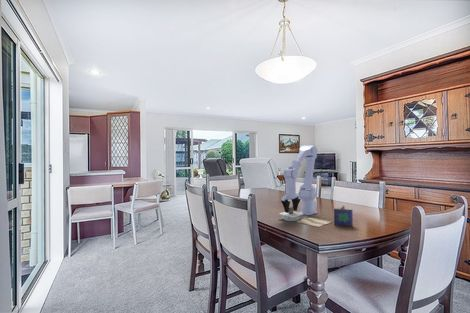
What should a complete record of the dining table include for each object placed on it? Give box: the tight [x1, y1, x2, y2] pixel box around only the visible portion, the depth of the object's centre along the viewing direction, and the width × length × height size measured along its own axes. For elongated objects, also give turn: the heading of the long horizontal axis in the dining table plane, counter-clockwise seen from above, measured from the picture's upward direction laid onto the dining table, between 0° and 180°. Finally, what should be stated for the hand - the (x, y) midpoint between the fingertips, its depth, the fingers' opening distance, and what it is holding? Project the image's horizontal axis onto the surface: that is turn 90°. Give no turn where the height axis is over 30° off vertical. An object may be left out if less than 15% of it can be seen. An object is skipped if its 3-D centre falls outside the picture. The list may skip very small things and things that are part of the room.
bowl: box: [282, 215, 300, 222], centre depth 149 cm, size 9×9×3 cm
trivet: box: [295, 216, 333, 228], centre depth 141 cm, size 14×14×1 cm
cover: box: [278, 206, 304, 217], centre depth 149 cm, size 10×10×4 cm
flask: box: [333, 205, 354, 227], centre depth 134 cm, size 9×3×11 cm, turn 74°
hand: (290, 211), depth 149 cm, fingers open, 7 cm apart
